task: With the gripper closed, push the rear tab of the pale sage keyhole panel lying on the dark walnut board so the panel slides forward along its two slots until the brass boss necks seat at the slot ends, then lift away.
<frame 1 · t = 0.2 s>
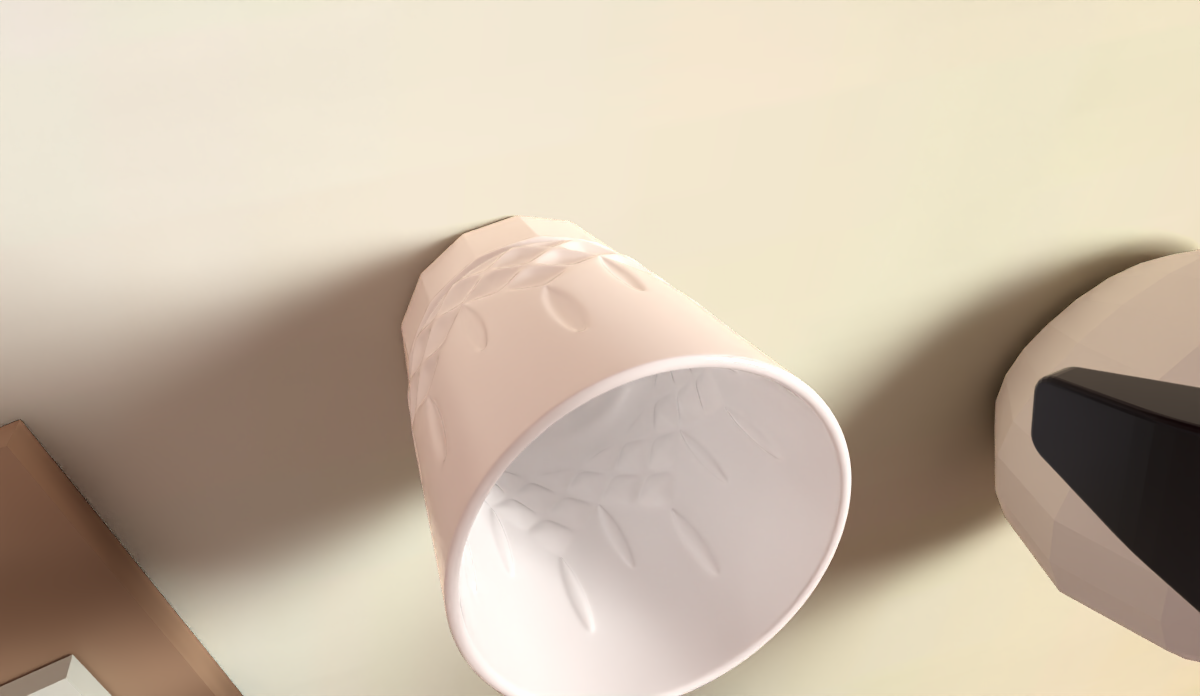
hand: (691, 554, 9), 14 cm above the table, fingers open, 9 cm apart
soap bottle: (1094, 352, 32), on the table
white cup: (520, 325, 23), on the table
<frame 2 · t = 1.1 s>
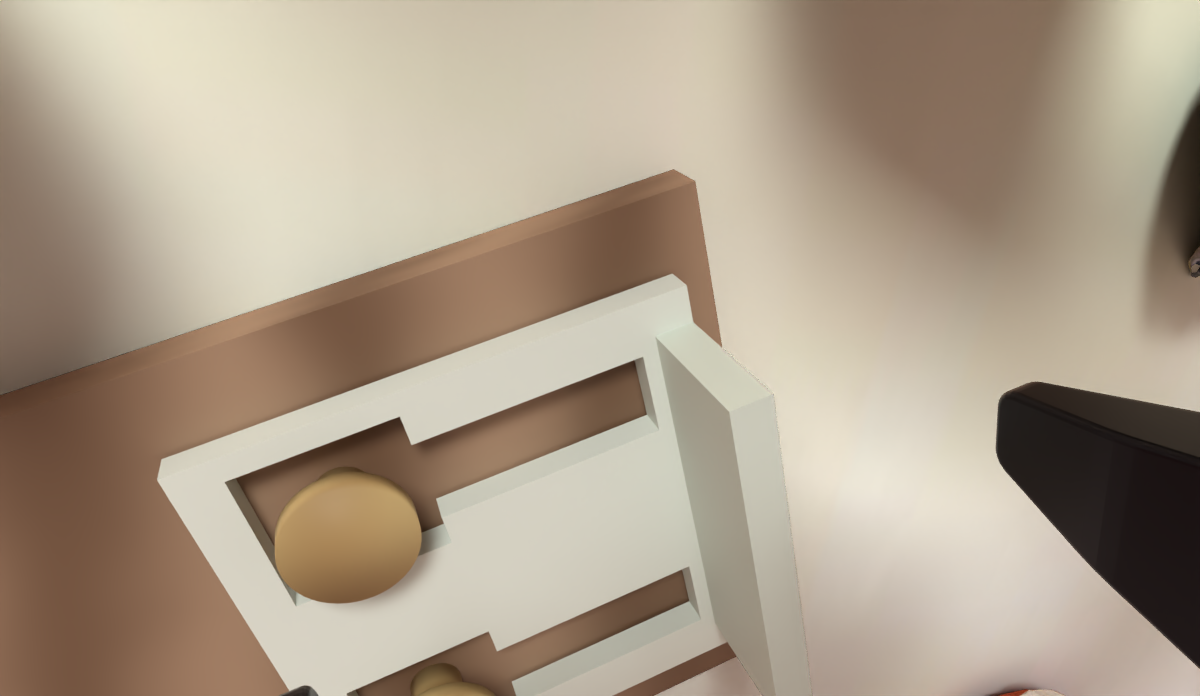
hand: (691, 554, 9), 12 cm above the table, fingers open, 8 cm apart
board: (405, 557, 22), on the table
panel: (527, 610, 20), point 4 cm above the table, slide at 0.0 cm
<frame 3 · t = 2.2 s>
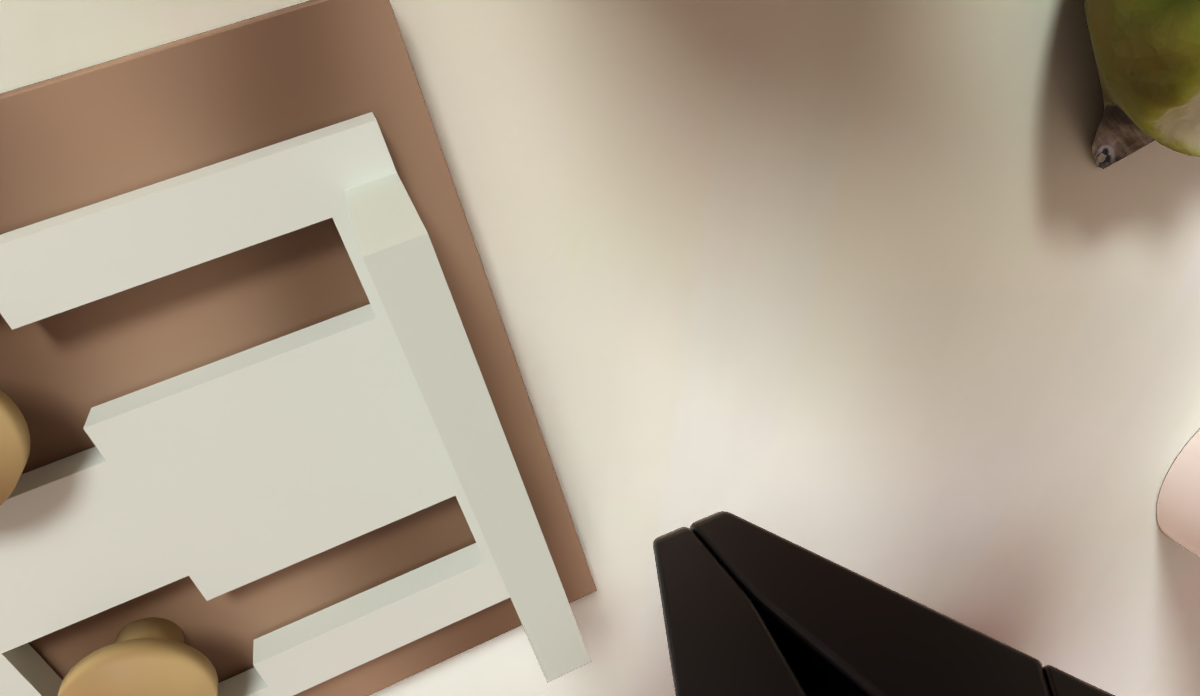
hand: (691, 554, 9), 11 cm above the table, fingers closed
board: (97, 489, 18), on the table
panel: (198, 543, 15), point 4 cm above the table, slide at 0.0 cm
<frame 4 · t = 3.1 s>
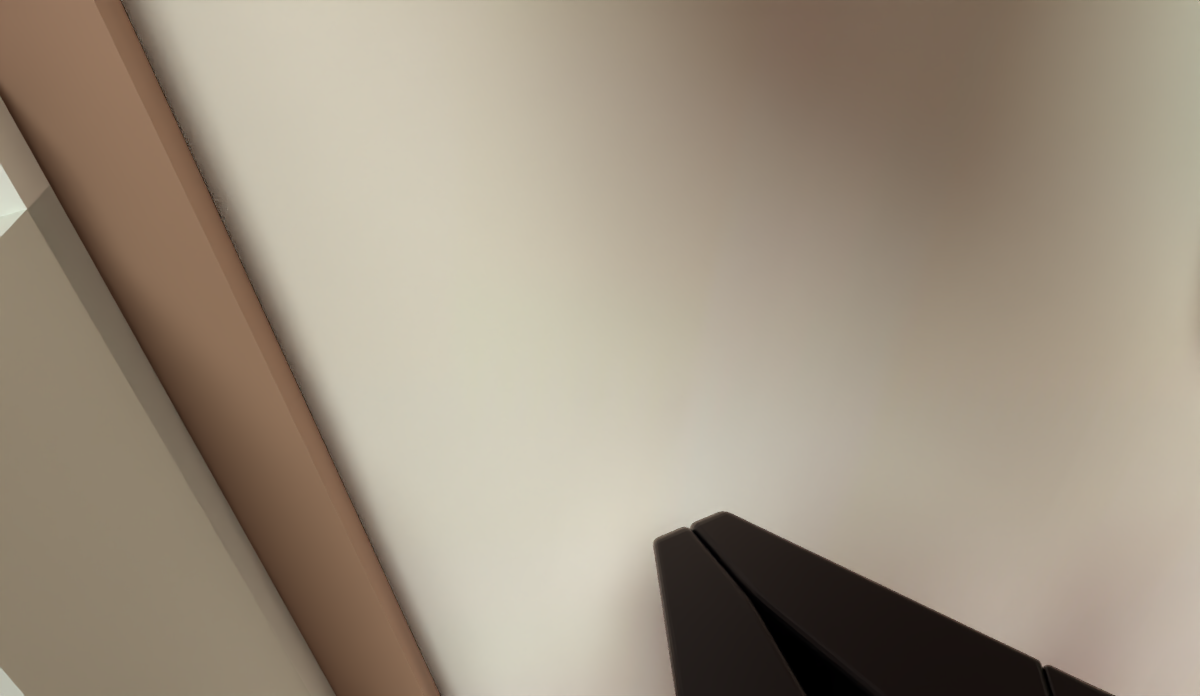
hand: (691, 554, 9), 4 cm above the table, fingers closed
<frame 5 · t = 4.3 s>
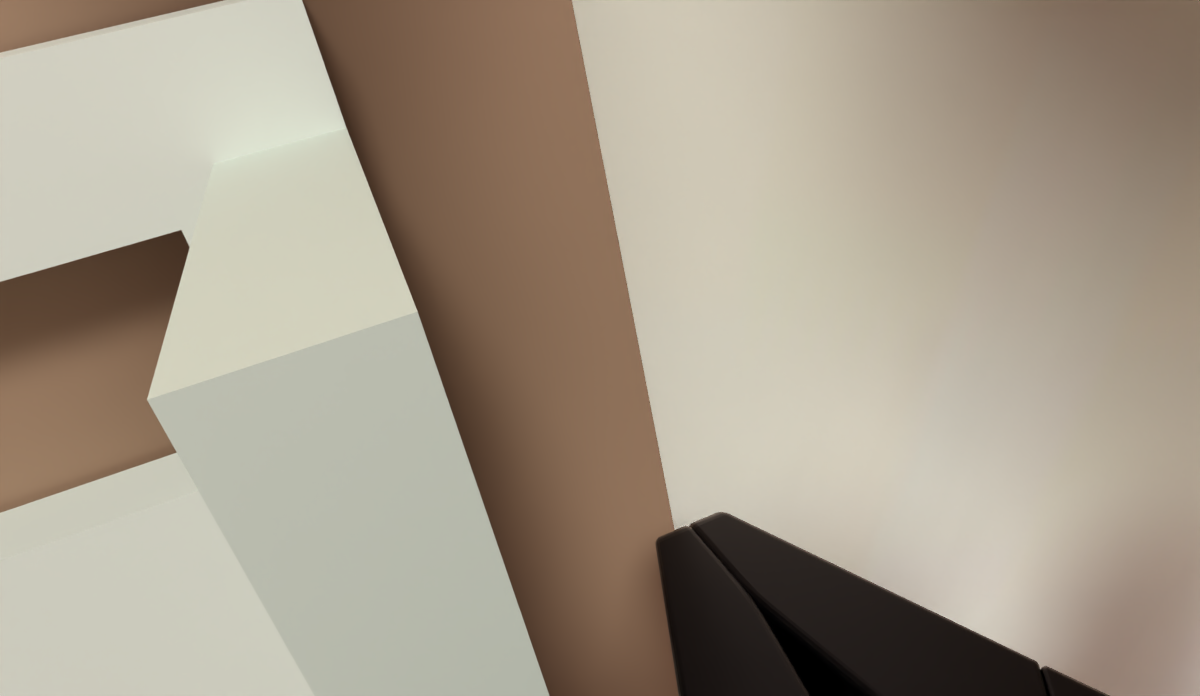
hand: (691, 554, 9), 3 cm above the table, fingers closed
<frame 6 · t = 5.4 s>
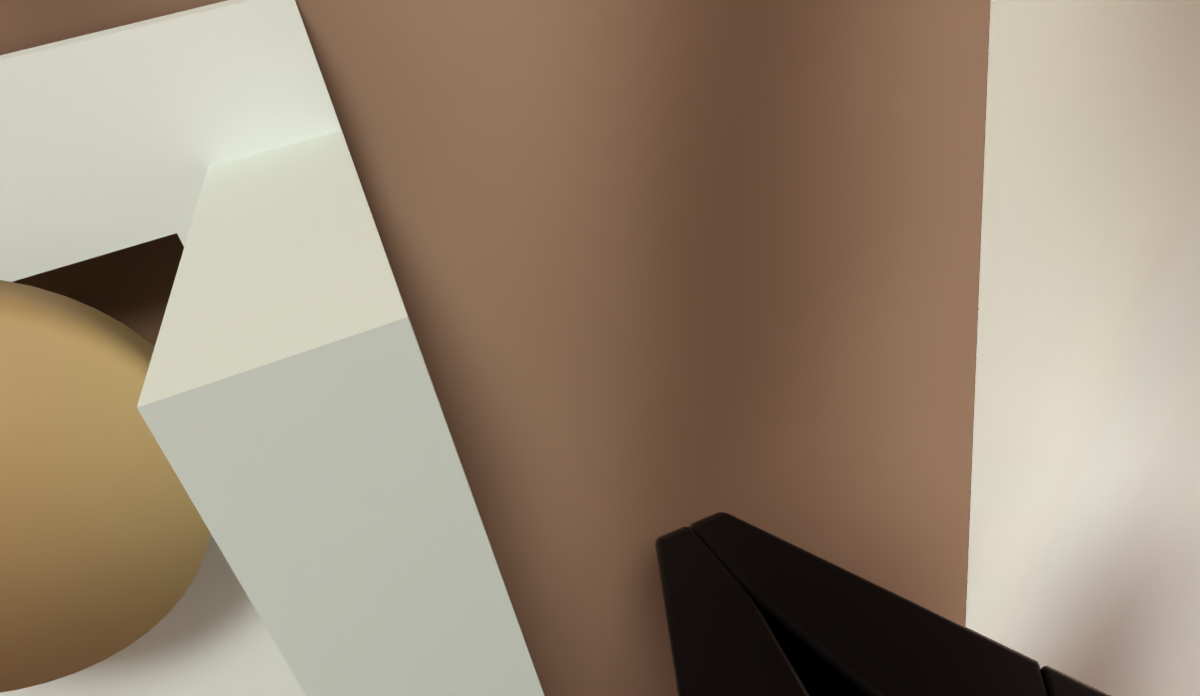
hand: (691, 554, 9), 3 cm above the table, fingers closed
board: (259, 558, 10), on the table
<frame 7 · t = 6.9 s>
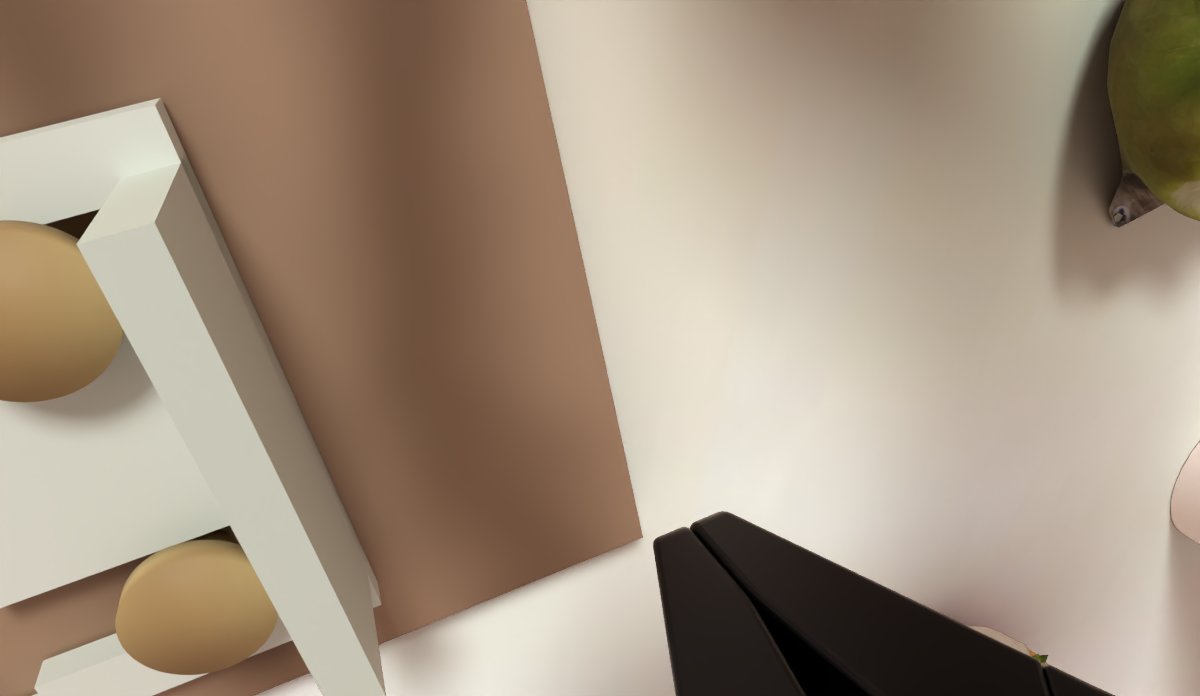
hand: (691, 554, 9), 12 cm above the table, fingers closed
fruit: (1165, 40, 24), on the table
board: (166, 394, 18), on the table
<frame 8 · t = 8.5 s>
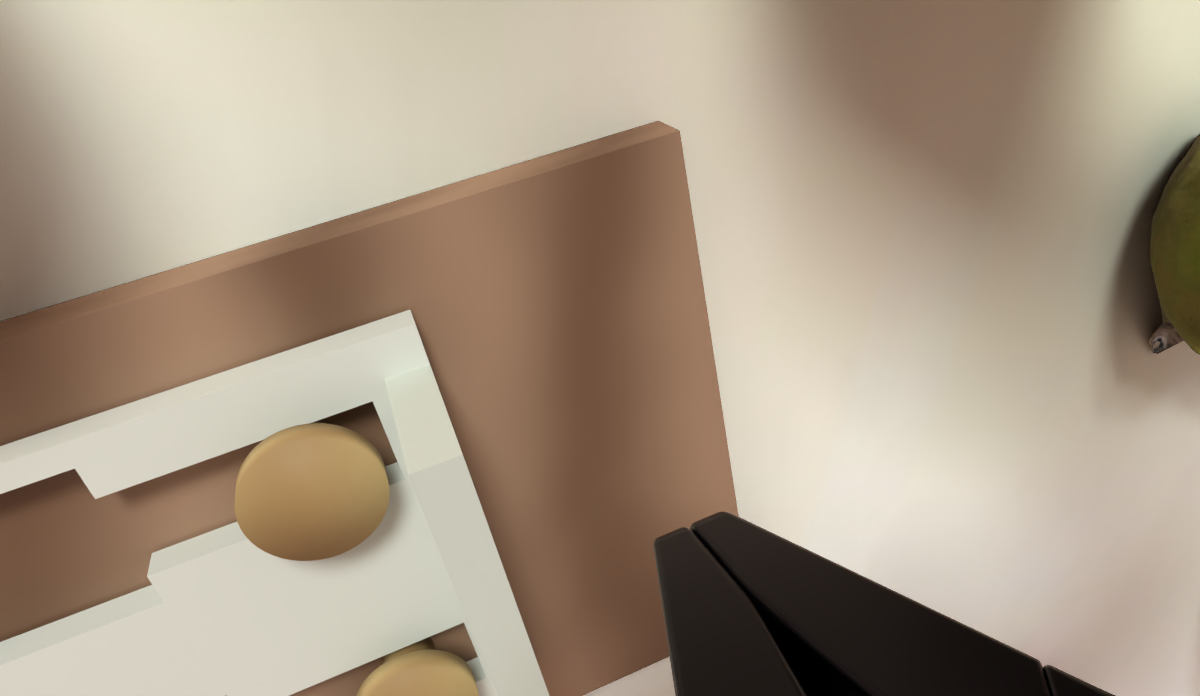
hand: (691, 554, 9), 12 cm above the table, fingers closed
fruit: (1198, 201, 27), on the table
board: (378, 522, 21), on the table
panel: (242, 679, 18), point 4 cm above the table, slide at 5.9 cm
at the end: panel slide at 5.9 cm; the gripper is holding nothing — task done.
